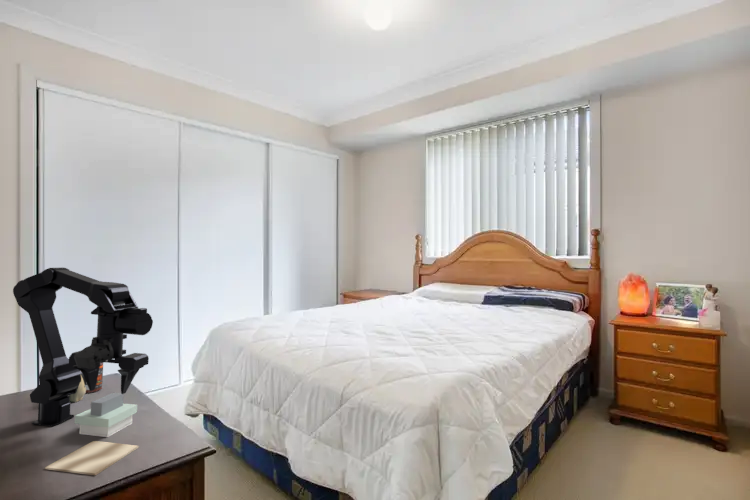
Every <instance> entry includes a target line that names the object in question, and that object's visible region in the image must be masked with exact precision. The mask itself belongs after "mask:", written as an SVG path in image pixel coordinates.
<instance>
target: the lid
mask: <svg viewBox="0 0 750 500" xmlns="http://www.w3.org/2000/svg"><path fill="white" fill-rule="evenodd" d="M136 413H138V404H134V403H133V404H132V403H124V394H121V392H112V393H109V394H106V395H105V396H103V397H100V398H97V399H95V400H94V401H93V400H92V401H91V402H90V408H89V409H87V410H85V411H83V412H80V413H78V414H75V415H74V424H75V425H80V424H81V425H91V426H100V427H110V426H112V425H114V424H116V423H118V422H120V421H121V420H123V419H125V418H127V417H129V416H131V415H132V416H133V415H135V414H136Z"/></svg>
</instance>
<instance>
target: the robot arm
mask: <svg viewBox="0 0 750 500" xmlns="http://www.w3.org/2000/svg"><path fill="white" fill-rule="evenodd" d="M62 288H65V289H68V290H71V291H73V292H76V293H78V294H81V295H84V296H85V297H87V298H88V300H89V302H91V303H92V304H93V305H95V306H96V308H94V309H93V310H92V311H91V312H90V314H91V315H96V316H97V326H96V330H97V331H96V336H93V337H92V339H91V344H90V345H89V346H85V347H84V348H83V349H81V350H79V351H75V352H72V353H71V354H70V355H69V357H67V355H66V351H65V347H64V344H63V340H62V337H61V334H60V330H59V327H58V323H57V320H56V317H55V311H54V310H53V309H54V308H53V307H54V304H55V302H56V299H57V292H58V291H59V290H61V289H62ZM12 293H13V296H14V298H15V301H16V303H17V305H18V306H19V307H20V308H21V309H22V310H24V311H25V312H26V313H27V314H28V315H29V318H30V321H31V322H30V323H31V326H32V329H33V333H34V336H35V340H36V343H37V347H38V352H39V355H40V357H41V362H42V367H41V369H40V372H39V375H38V382H39V385H37V386H36V387H35V388H34V390H33V391H32V392H31V393H30V394H29V398H30V402H31V403H33V404H38V411H37V420H34V421H32V422H31V425H36V426H45V427H54V426H57V425H58V424H61V423H64V422H66V421H68V420H70V419H74V418H75V414H71V403H70V396H69V395H71V394H75V393H76V392H77V389H78V386H79V384H80V382H81V374H82V373H83V375H84V377H85V380H86V382H87V385H88V388H89V390H90V391H93V390H94V389H95V386H96V383H97V378H98V373H99V368H100V363H103V364H104V363H106V364H107V363H110V364H118V367H119V369H117V372H118V373H119V374H120V393H121V394H123V395H125V394H126V393H127V391H128V389H130V388H129V387H130V385H131V383H132V382H133V380H134V378H135V377H136V375H137V373H139V370H140V369H142V368H144V367H145V366H147V365H149V355H147V353H140V352H139V353H138V352H133V353H130V354H127V349H123V348H124V347H123V346H124V340H125V339H128V335H133V336H134V335H136V336H145V335H147V334H148V333H150V331H151V329H152V327H153V323H154V322H153V318H152V315H151V314H150V313H149V312H148V309H147V308H145V307H140V308H139V306H138V303H137V301H135V298H134V296H133V295H132V294H131V292H130V290H129V286H128V285H126V283H125V284H124V283H121V282H120V283H119V282H113V281H101V280H99V279H98V280H97V279H94V278H91V277H90V276H87V275H84V274H81V273H79V272H75V271H72V270H70V269H68V268H67V267H48V268H46V269H44V270H42V271H40V272H39V273H37V274H34V275H31V276H28V277H25V278H24V279H22V280H19V281H18V282H17V283H16V285H14V286H13V289H12Z"/></svg>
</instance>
